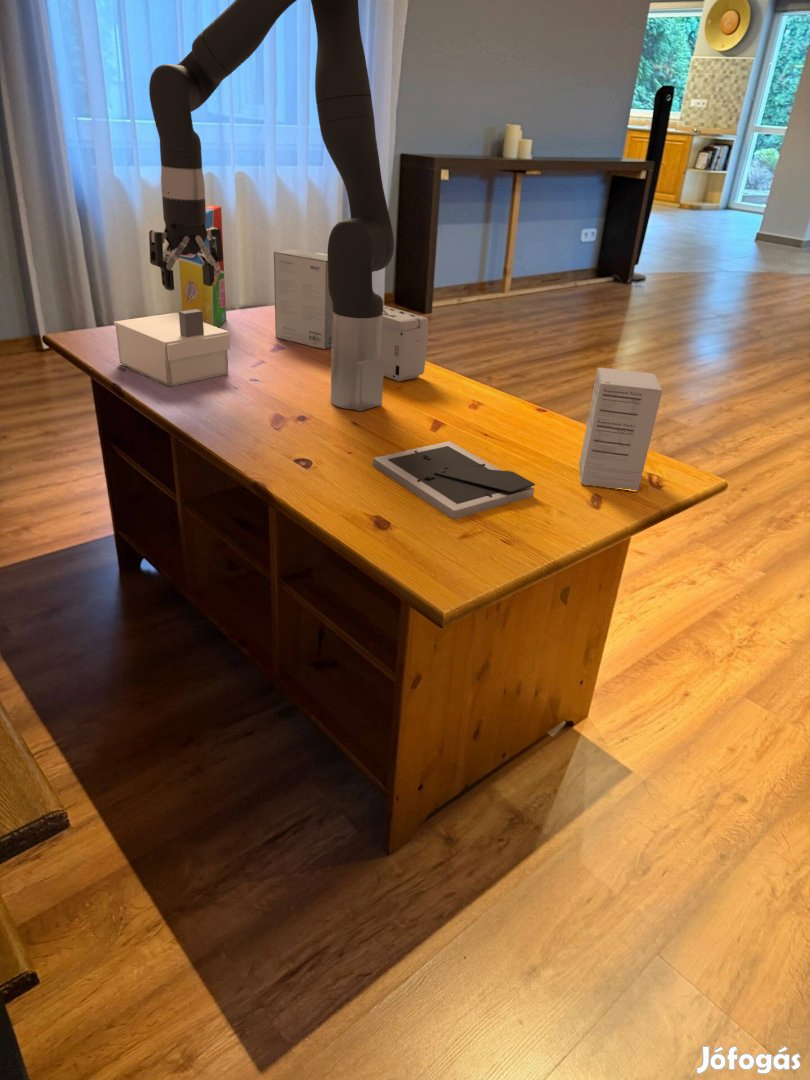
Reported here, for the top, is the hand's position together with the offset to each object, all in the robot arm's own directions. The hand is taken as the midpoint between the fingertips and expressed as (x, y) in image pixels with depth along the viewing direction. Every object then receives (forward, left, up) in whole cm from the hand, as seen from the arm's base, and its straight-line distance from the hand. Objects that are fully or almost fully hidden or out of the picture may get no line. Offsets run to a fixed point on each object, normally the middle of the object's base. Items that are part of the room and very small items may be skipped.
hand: (189, 287), depth 145 cm
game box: (+30, -24, -18) cm, 43 cm away
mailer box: (+7, 0, -18) cm, 19 cm away
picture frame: (-65, -3, -19) cm, 67 cm away
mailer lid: (+7, 0, -12) cm, 14 cm away
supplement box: (-81, -24, -18) cm, 86 cm away
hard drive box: (+8, -38, -18) cm, 43 cm away
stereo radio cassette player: (-17, -35, -18) cm, 43 cm away
